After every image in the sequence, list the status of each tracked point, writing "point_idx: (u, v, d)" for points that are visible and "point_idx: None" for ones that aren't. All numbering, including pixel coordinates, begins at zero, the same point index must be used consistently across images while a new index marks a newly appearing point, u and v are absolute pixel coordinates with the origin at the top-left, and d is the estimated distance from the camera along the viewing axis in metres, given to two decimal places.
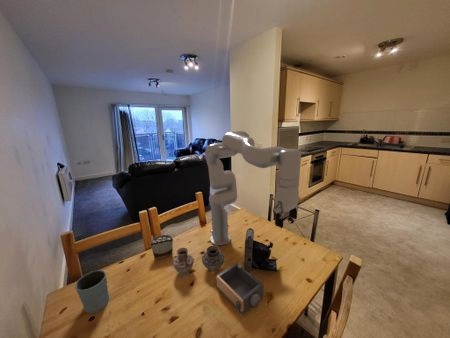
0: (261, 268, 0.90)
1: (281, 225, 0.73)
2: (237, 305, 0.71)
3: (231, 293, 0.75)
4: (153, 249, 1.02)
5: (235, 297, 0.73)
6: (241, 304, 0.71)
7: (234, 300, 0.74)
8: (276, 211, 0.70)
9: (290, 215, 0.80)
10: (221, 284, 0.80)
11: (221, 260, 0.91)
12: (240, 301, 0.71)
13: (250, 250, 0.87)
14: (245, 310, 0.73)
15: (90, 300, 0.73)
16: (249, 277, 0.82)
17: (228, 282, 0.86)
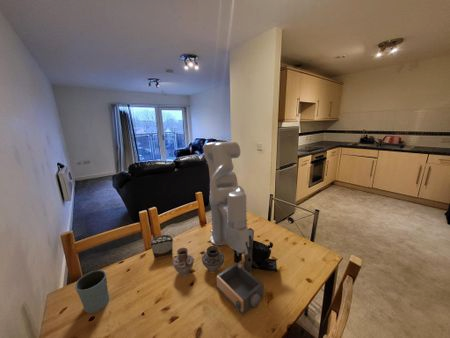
0: (261, 268, 0.90)
1: None
2: (237, 305, 0.71)
3: (231, 293, 0.75)
4: (153, 249, 1.02)
5: (235, 297, 0.73)
6: (241, 304, 0.71)
7: (234, 300, 0.74)
8: None
9: None
10: (221, 284, 0.80)
11: (221, 260, 0.91)
12: (240, 301, 0.71)
13: (250, 250, 0.87)
14: (245, 310, 0.73)
15: (90, 300, 0.73)
16: (249, 277, 0.82)
17: (228, 282, 0.86)
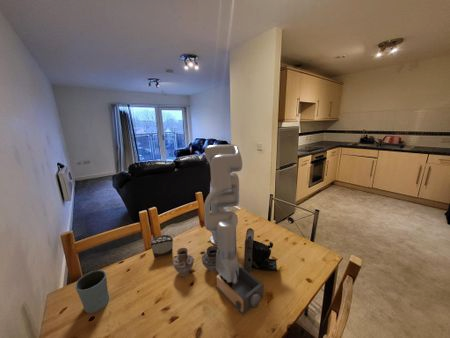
0: (261, 268, 0.90)
1: None
2: (237, 305, 0.71)
3: (231, 293, 0.75)
4: (153, 249, 1.02)
5: (235, 297, 0.73)
6: (241, 304, 0.71)
7: (234, 300, 0.74)
8: None
9: None
10: (221, 284, 0.80)
11: None
12: (240, 301, 0.71)
13: (250, 250, 0.87)
14: (245, 310, 0.73)
15: (90, 300, 0.73)
16: (249, 277, 0.82)
17: None
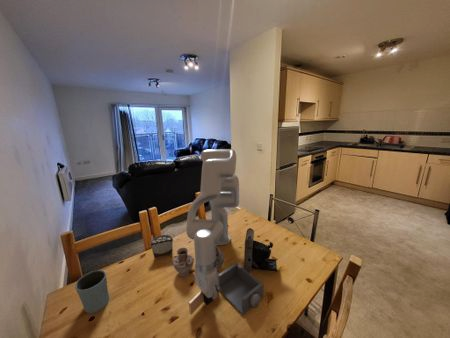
0: (261, 268, 0.90)
1: (211, 299, 0.75)
2: None
3: None
4: (153, 249, 1.02)
5: None
6: None
7: None
8: None
9: None
10: None
11: (221, 260, 0.91)
12: None
13: (250, 250, 0.87)
14: (245, 310, 0.73)
15: (90, 300, 0.73)
16: (249, 277, 0.82)
17: (228, 282, 0.86)
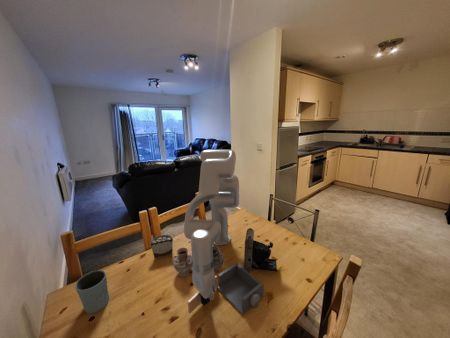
0: (261, 268, 0.90)
1: (209, 300, 0.74)
2: None
3: None
4: (153, 249, 1.02)
5: None
6: None
7: None
8: None
9: None
10: None
11: (221, 260, 0.91)
12: None
13: (250, 250, 0.87)
14: (245, 310, 0.73)
15: (90, 300, 0.73)
16: (249, 277, 0.82)
17: (228, 282, 0.86)
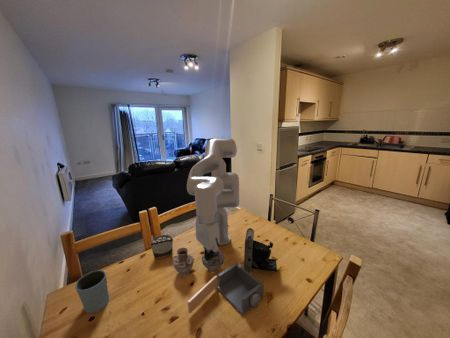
0: (261, 268, 0.90)
1: (212, 255, 0.75)
2: None
3: None
4: (153, 249, 1.02)
5: None
6: None
7: None
8: None
9: None
10: None
11: (221, 260, 0.91)
12: None
13: (250, 250, 0.87)
14: (245, 310, 0.73)
15: (90, 300, 0.73)
16: (249, 277, 0.82)
17: (228, 282, 0.86)
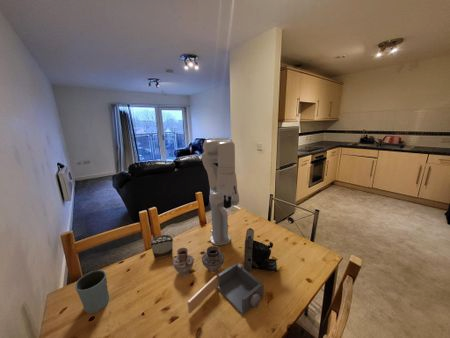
0: (261, 268, 0.90)
1: None
2: None
3: None
4: (153, 249, 1.02)
5: None
6: None
7: None
8: None
9: None
10: None
11: (221, 260, 0.91)
12: None
13: (250, 250, 0.87)
14: (245, 310, 0.73)
15: (90, 300, 0.73)
16: (249, 277, 0.82)
17: (228, 282, 0.86)
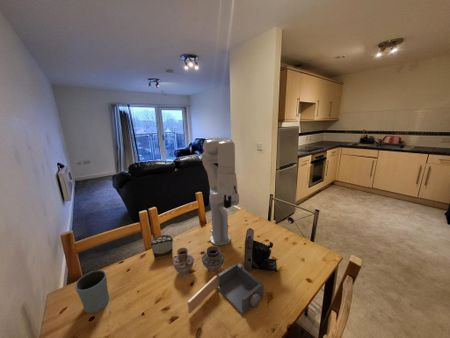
0: (261, 268, 0.90)
1: (230, 204, 0.89)
2: None
3: None
4: (153, 249, 1.02)
5: None
6: None
7: None
8: None
9: None
10: None
11: (221, 260, 0.91)
12: None
13: (250, 250, 0.87)
14: (245, 310, 0.73)
15: (90, 300, 0.73)
16: (249, 277, 0.82)
17: (228, 282, 0.86)
